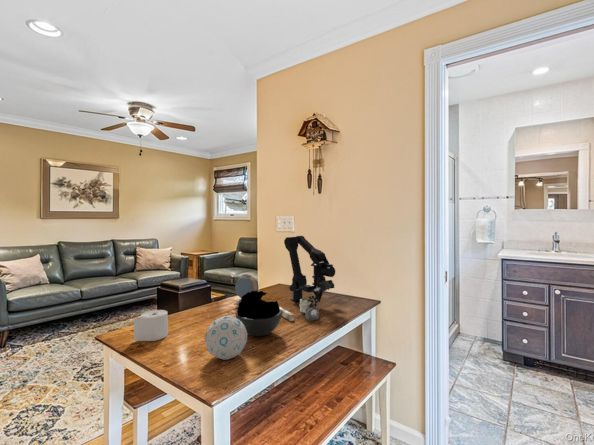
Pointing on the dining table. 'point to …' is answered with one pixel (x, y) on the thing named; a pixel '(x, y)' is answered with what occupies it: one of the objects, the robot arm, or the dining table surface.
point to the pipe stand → (311, 313)
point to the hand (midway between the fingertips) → (318, 301)
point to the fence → (287, 314)
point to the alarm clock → (245, 286)
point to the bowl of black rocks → (258, 314)
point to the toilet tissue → (151, 326)
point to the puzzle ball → (226, 337)
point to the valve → (307, 303)
